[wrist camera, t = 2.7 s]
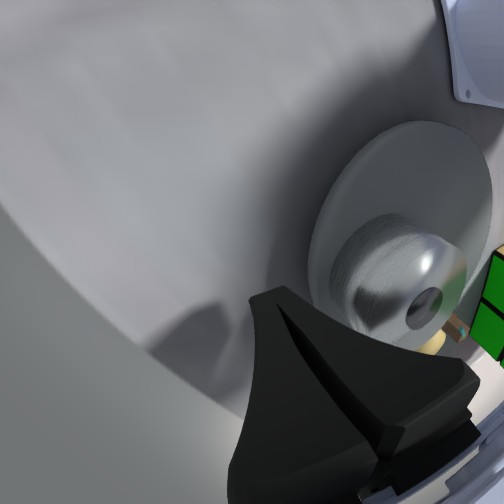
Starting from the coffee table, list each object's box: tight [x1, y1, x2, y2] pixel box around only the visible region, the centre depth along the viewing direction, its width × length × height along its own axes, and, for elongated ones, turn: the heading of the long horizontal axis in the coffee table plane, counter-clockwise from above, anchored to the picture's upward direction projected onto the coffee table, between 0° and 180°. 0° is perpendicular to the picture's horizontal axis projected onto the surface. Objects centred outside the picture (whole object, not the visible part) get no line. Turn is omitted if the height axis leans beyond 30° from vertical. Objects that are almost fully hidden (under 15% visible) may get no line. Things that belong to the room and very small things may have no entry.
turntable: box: [307, 120, 493, 355], centre depth 12 cm, size 12×12×3 cm
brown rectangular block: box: [441, 312, 470, 343], centre depth 18 cm, size 1×2×3 cm
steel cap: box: [329, 213, 467, 351], centre depth 11 cm, size 5×5×3 cm
